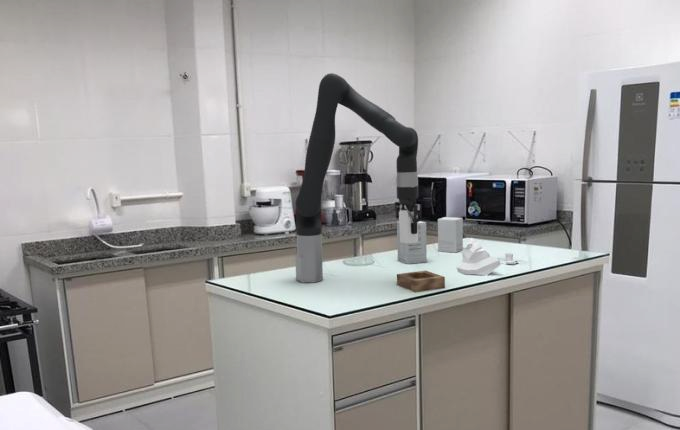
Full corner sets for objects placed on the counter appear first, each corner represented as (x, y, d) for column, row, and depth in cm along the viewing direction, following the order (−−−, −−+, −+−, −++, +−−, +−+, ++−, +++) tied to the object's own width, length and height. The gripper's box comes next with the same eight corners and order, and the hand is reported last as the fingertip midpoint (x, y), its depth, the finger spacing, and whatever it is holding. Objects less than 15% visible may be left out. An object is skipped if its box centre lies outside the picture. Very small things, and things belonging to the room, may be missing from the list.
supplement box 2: (463, 249, 272) (463, 217, 271) (456, 253, 265) (456, 219, 263) (444, 248, 277) (444, 216, 275) (437, 251, 270) (437, 218, 268)
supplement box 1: (427, 262, 246) (427, 222, 244) (407, 264, 243) (407, 223, 240) (416, 258, 255) (415, 219, 253) (396, 260, 251) (396, 221, 249)
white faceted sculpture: (474, 281, 217) (464, 245, 216) (455, 276, 231) (445, 242, 230) (502, 270, 220) (492, 234, 219) (482, 266, 235) (473, 232, 233)
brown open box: (414, 292, 198) (414, 281, 198) (396, 284, 209) (396, 274, 209) (444, 287, 203) (444, 276, 203) (425, 280, 214) (425, 270, 214)
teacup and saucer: (514, 266, 236) (514, 256, 236) (495, 264, 241) (495, 254, 240) (522, 262, 243) (522, 253, 242) (503, 260, 248) (503, 251, 247)
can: (417, 244, 205) (416, 209, 203) (399, 244, 206) (397, 210, 204) (418, 241, 211) (417, 207, 209) (400, 241, 212) (399, 208, 211)
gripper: (387, 184, 211) (389, 231, 213) (409, 186, 198) (410, 236, 200) (405, 183, 214) (406, 229, 216) (428, 185, 201) (429, 233, 203)
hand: (408, 232), depth 208 cm, fingers closed on can, 6 cm apart
